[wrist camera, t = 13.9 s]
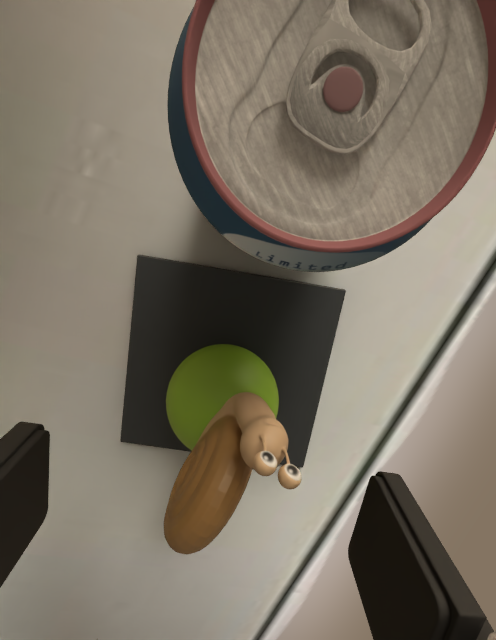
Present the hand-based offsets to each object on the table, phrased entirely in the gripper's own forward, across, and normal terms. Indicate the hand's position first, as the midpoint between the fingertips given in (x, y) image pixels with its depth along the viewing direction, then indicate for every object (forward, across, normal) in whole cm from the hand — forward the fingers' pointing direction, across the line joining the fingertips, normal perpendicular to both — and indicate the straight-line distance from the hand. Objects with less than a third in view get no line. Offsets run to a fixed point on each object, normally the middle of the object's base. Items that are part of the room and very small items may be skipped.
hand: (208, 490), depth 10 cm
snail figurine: (+10, 0, +1) cm, 10 cm away
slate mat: (+10, 0, +1) cm, 10 cm away
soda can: (+11, -1, -10) cm, 15 cm away
